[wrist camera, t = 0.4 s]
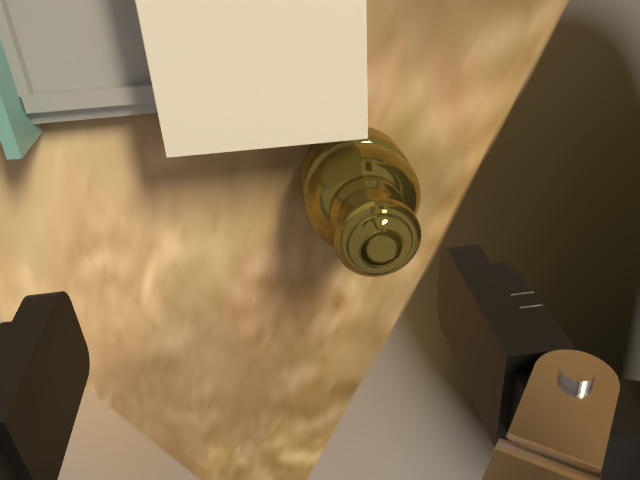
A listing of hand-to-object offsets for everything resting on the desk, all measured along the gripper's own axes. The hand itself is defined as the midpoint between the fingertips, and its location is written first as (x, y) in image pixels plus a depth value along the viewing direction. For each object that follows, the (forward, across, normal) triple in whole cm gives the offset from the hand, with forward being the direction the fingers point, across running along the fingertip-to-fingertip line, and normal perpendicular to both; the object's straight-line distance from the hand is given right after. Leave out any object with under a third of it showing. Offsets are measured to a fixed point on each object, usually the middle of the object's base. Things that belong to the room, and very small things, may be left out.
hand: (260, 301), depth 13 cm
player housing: (+27, 0, -2) cm, 27 cm away
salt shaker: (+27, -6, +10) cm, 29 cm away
